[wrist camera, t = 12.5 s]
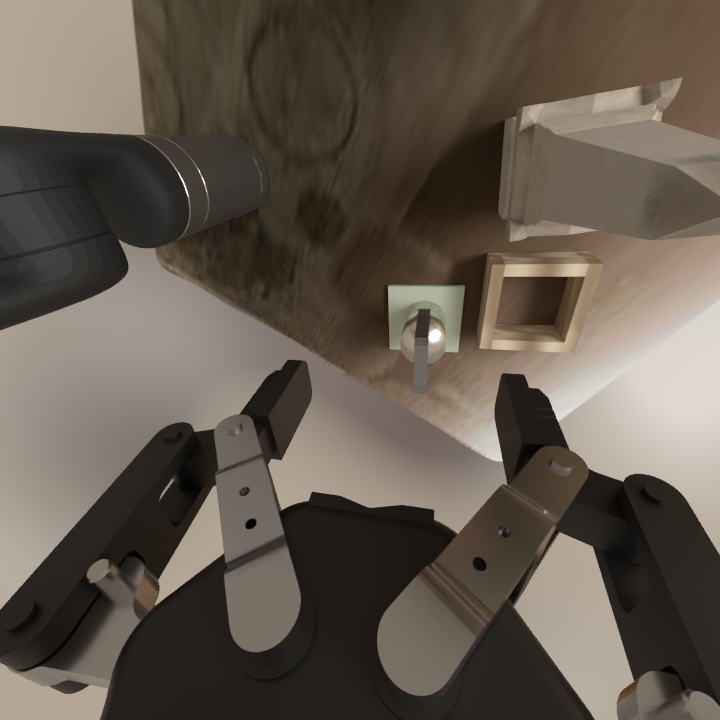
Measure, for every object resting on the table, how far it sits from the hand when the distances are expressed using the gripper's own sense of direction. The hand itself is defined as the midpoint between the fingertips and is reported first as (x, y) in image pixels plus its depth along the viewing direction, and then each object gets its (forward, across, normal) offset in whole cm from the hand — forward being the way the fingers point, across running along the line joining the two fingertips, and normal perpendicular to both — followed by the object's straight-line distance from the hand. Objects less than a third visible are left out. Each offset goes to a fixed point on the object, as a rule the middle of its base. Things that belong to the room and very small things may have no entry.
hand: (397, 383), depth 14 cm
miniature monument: (+36, -13, -5) cm, 39 cm away
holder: (+36, -14, +11) cm, 40 cm away
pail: (+35, 0, +15) cm, 38 cm away
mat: (+36, 0, +15) cm, 39 cm away
